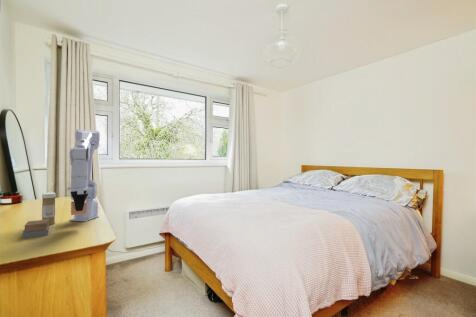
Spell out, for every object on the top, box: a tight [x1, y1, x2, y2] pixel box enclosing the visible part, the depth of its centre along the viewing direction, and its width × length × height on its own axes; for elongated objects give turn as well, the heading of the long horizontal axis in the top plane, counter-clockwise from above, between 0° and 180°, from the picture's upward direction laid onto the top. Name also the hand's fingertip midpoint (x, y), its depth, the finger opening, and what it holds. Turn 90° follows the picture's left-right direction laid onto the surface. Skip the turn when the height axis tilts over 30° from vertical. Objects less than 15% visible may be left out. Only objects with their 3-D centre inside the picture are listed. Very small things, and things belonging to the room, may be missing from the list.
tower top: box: [24, 219, 50, 232], centre depth 85 cm, size 6×6×2 cm
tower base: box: [21, 225, 50, 239], centre depth 85 cm, size 7×7×2 cm
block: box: [70, 200, 87, 216], centre depth 93 cm, size 5×5×4 cm
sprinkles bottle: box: [41, 192, 57, 226], centre depth 98 cm, size 5×5×14 cm
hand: (78, 209), depth 94 cm, fingers closed on block, 5 cm apart
